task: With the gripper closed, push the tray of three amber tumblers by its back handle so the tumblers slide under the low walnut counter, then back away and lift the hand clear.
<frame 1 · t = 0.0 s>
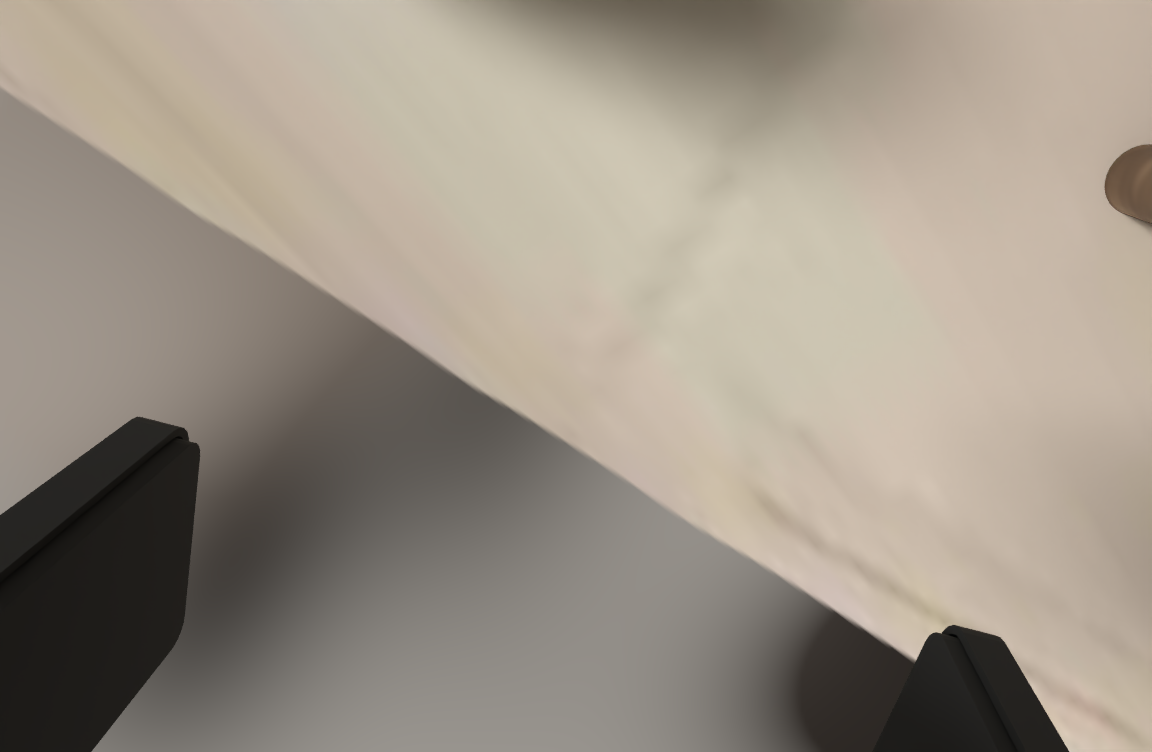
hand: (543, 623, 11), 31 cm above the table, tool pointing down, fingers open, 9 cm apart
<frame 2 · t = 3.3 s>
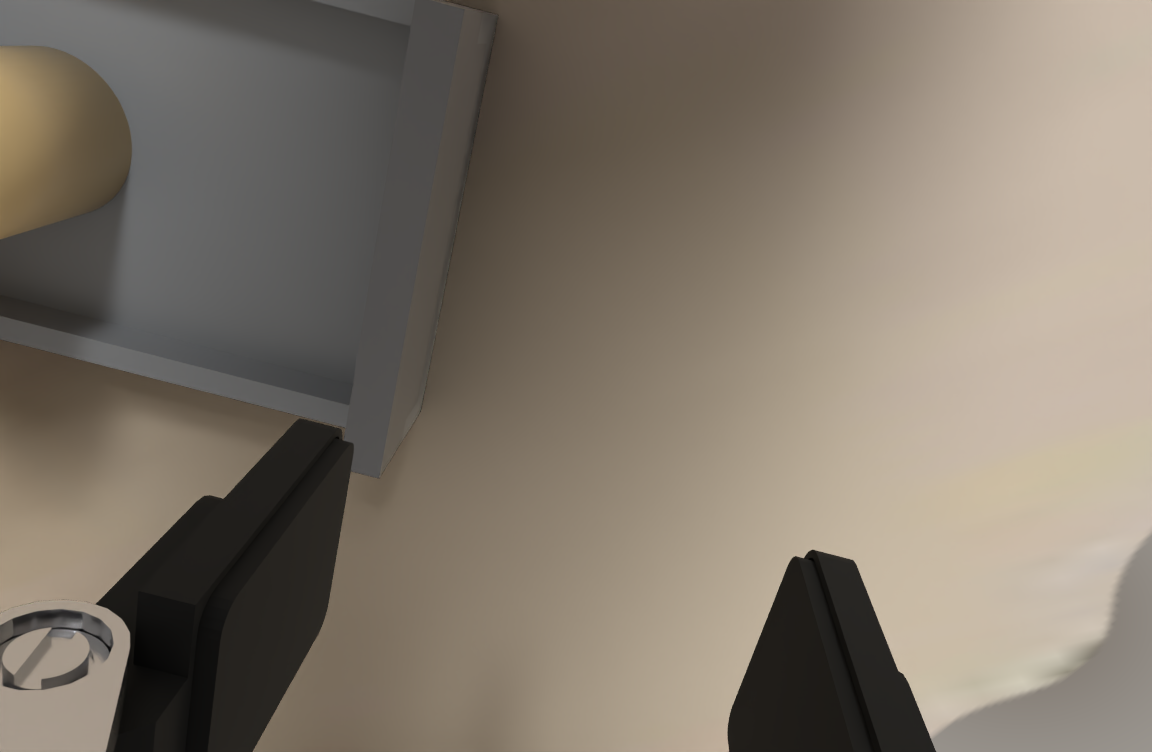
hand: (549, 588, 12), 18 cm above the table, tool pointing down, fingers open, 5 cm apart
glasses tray: (118, 142, 28), on the table
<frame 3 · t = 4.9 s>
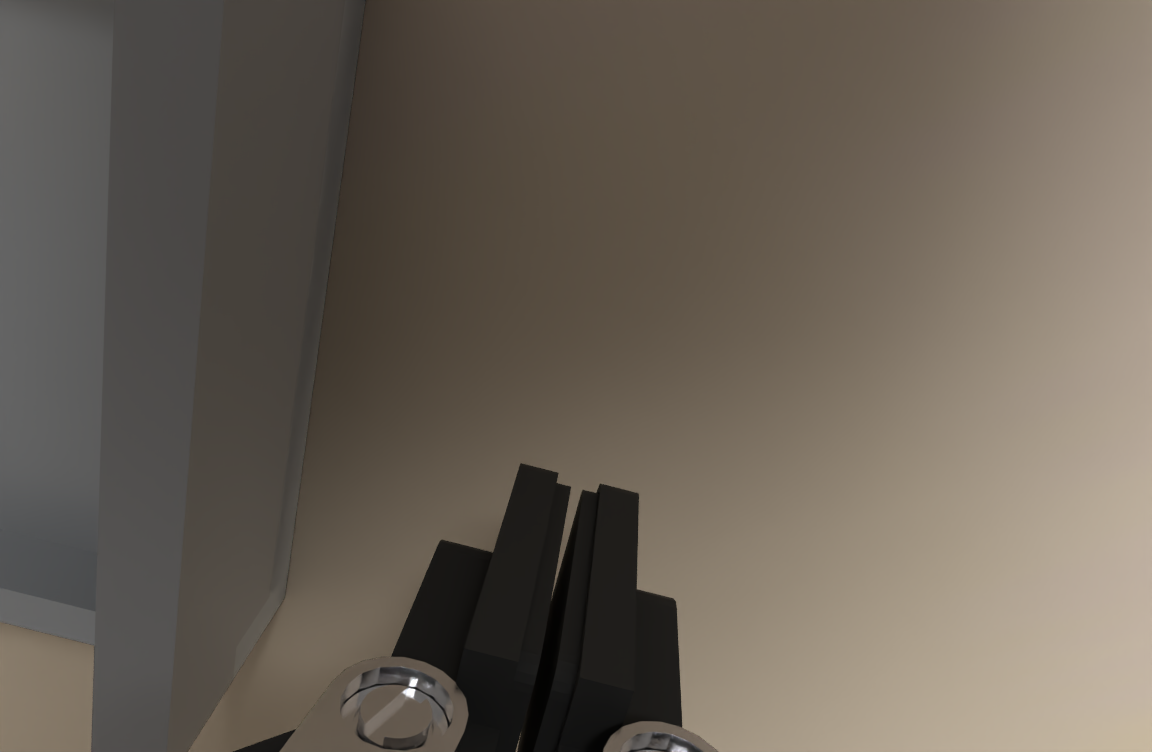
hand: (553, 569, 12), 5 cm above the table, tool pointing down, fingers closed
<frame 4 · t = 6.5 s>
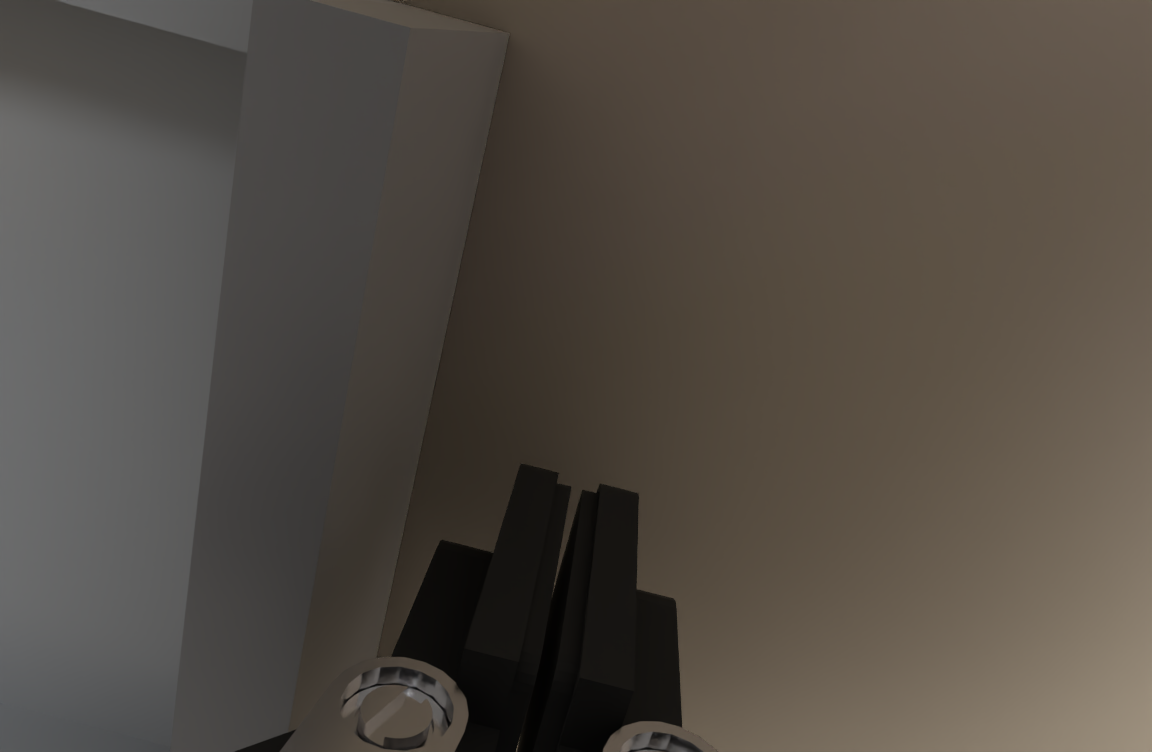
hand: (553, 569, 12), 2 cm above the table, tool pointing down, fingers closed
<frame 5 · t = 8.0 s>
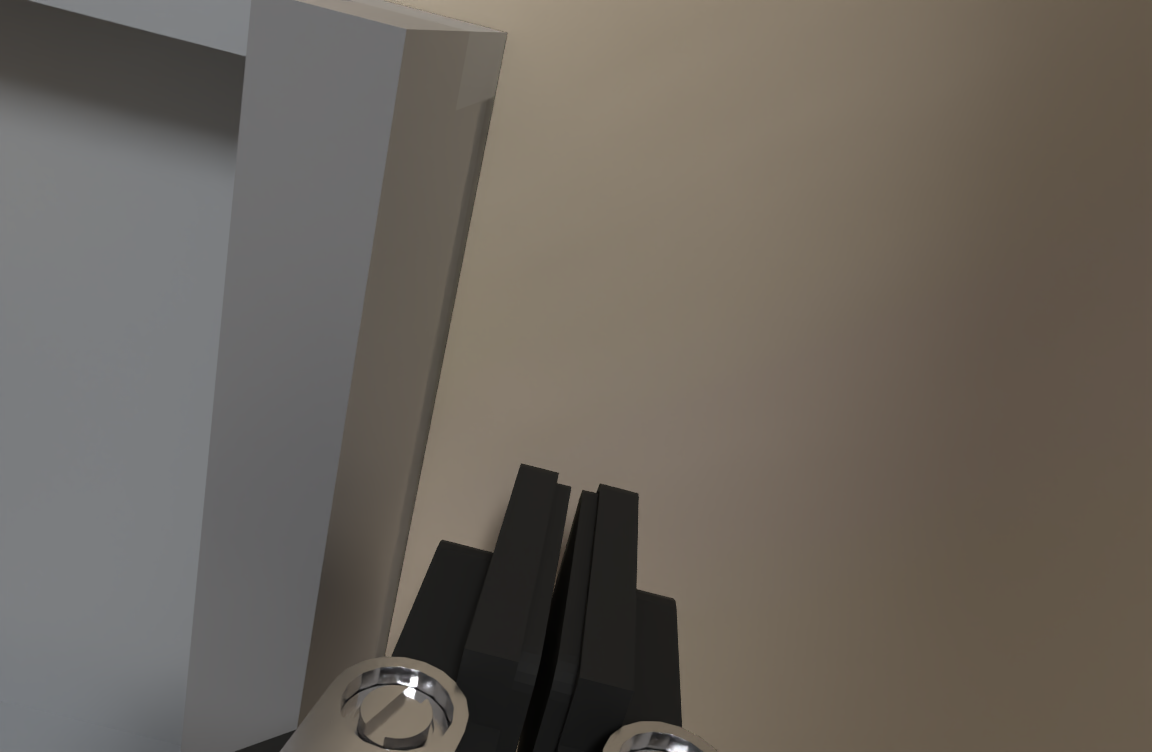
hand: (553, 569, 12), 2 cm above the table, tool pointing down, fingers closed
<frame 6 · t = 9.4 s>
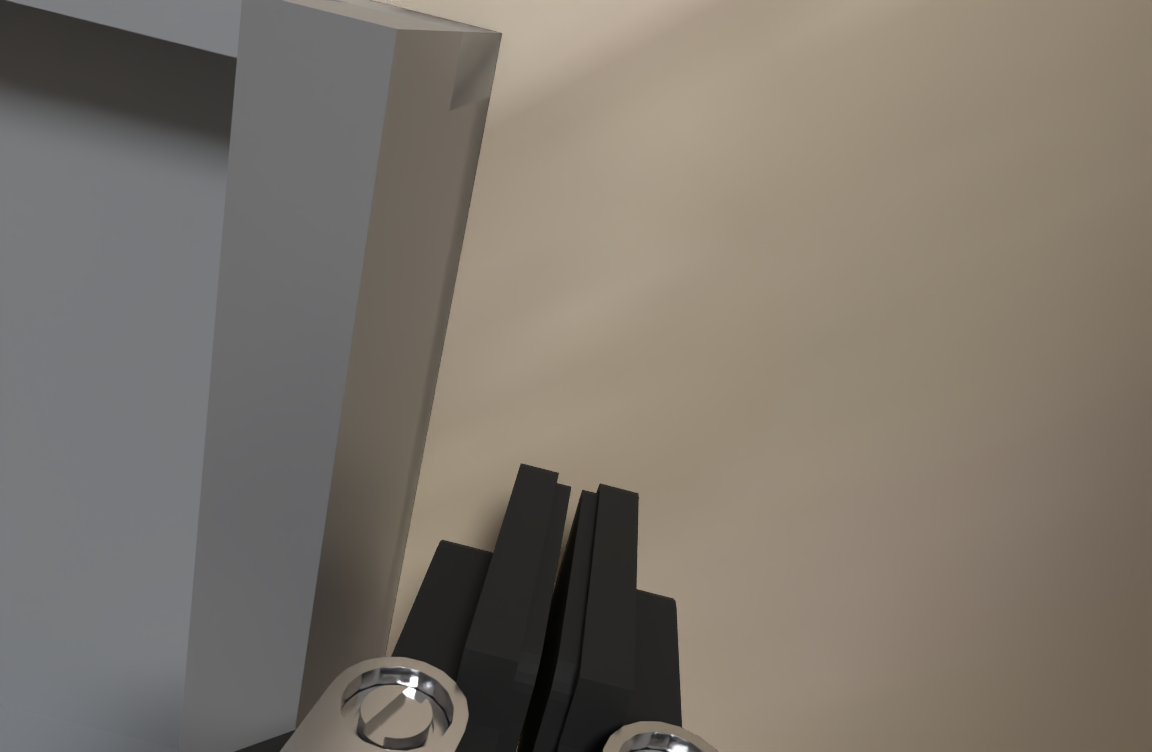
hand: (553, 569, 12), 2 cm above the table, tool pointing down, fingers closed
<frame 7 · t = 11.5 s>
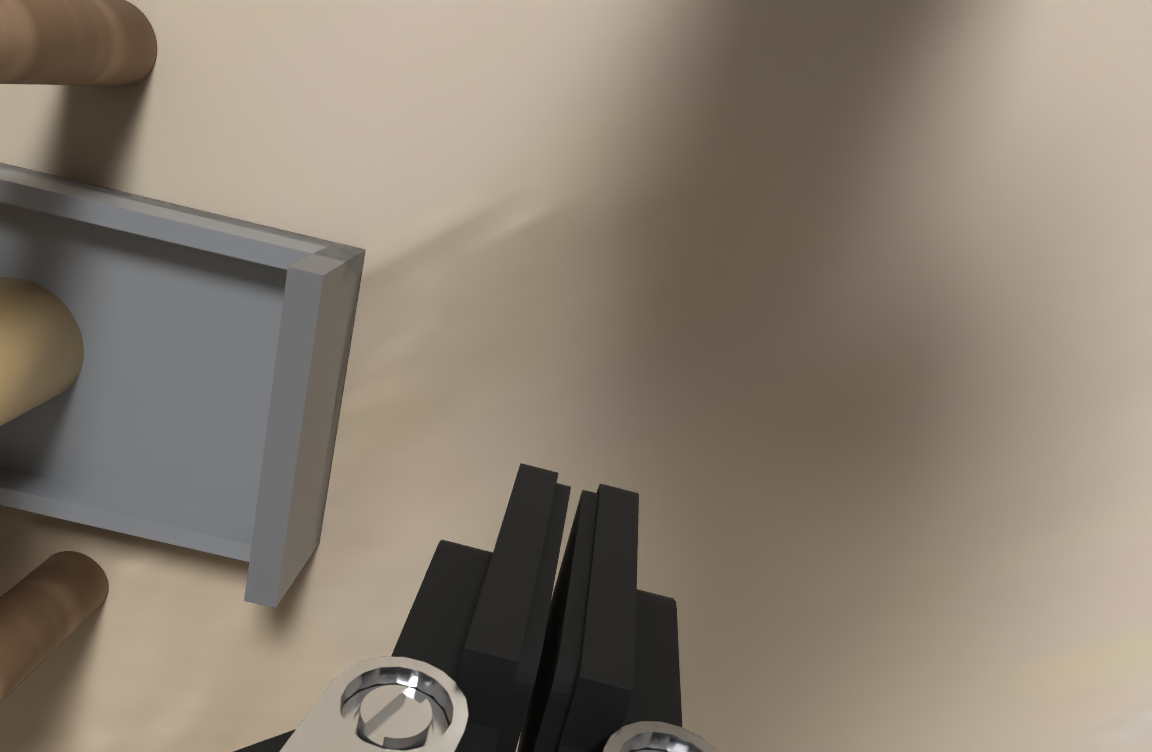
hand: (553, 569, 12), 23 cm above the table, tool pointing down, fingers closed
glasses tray: (73, 342, 36), on the table
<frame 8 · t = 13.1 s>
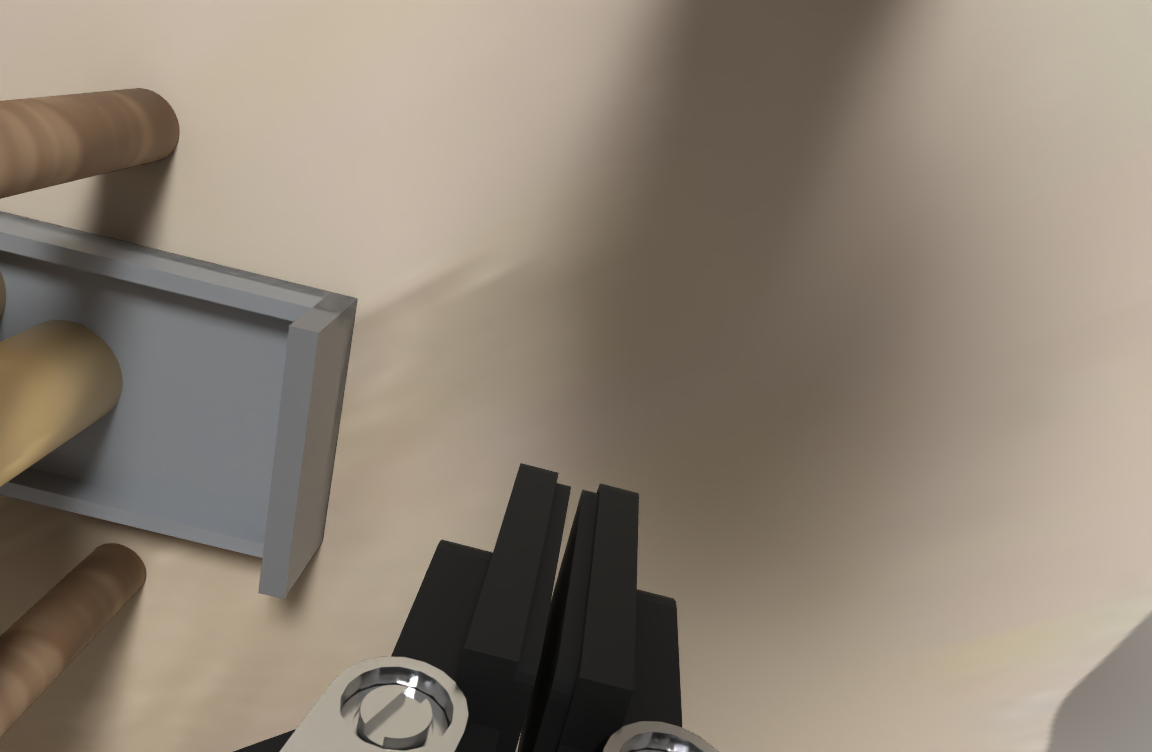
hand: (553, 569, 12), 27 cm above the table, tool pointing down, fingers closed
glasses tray: (113, 371, 42), on the table
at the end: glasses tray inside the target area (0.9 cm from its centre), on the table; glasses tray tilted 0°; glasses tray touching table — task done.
